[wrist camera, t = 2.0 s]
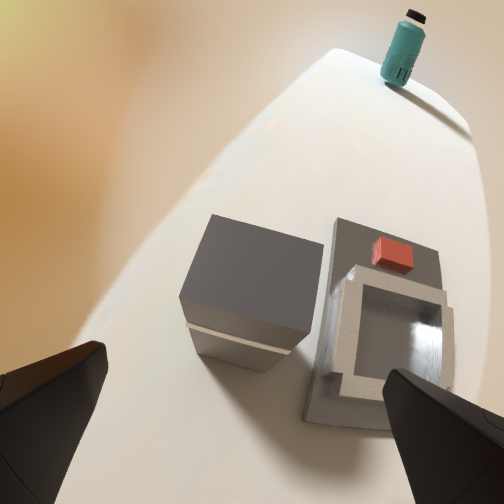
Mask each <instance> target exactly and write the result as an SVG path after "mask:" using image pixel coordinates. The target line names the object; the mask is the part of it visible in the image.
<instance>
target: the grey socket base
mask: <svg viewBox="0 0 504 504" xmlns="http://www.w3.org/2000/svg"><path fill="white" fill-rule="evenodd" d="M394 368H404V369H406V370H408V371H410V372H412V373H414V374H416V375H417V376H419V377H421V378H423V379H425V380H427V381H429V382H431V383H433V384H435V385H437V386H439V387H441V388H443V389H445V390H446V389H447V388H450V387H453V375H454V316H453V308H450V307H447V294H446V291H443V290H442V283H441V272H440V263H439V255H438V251H435V250H433V249H430V248H427V247H425V246H422V245H419V244H416V243H413V242H411V241H408V240H405V239H402V238H399V237H396V236H393V235H390V234H387V233H385V232H382V231H379V230H376V229H372V228H369V227H366V226H363V225H360V224H357V223H354V222H351V221H348V220H344V219H341V218H337V219H336V221H335V223H334V230H333V240H332V249H331V258H330V267H329V275H328V282H327V290H326V297H325V304H324V310H323V317H322V323H321V329H320V335H319V341H318V346H317V352H316V357H315V363H314V368H313V373H312V378H311V383H310V388H309V392H308V397H307V401H306V406H305V410H304V415H303V419H302V421H306V422H312V423H319V424H326V425H334V426H343V427H353V428H364V429H379V430H391V427H390V423H389V419H388V415H387V411H386V407H385V403H384V399H383V395H382V389H383V386H384V384H385V382H386V379H387V377H388V375H389V373H390V371H391V370H392V369H394Z"/></svg>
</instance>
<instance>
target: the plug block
mask: <svg viewBox="0 0 504 504" xmlns="http://www.w3.org/2000/svg"><path fill="white" fill-rule="evenodd" d="M323 248H324V245H323V244H320V243H316V242H313V241H309V240H306V239H302V238H298V237H295V236H291V235H288V234H284V233H281V232H277V231H273V230H270V229H266V228H262V227H259V226H255V225H251V224H248V223H244V222H240V221H236V220H233V219H229V218H225V217H221V216H218V215H214V214H212V216H211V218H210V221H209V223H208V225H207V228H206V230H205V232H204V235H203V237H202V240H201V242H200V244H199V247H198V249H197V252H196V254H195V257H194V259H193V262H192V264H191V266H190V269H189V272H188V274H187V277H186V279H185V282H184V284H183V287H182V289H181V292H180V295H179V299H180V302H181V305H182V309H183V312H184V315H185V318H186V321H185V323H186V326H187V327H188V328H189V331H190V334H191V337H192V340H193V343H194V346H195V349H196V352H197V354H199V355H203V356H206V357H209V358H213V359H216V360H219V361H223V362H226V363H230V364H234V365H237V366H241V367H245V368H248V369H252V370H256V371H260V372H264V373H265V372H266V371H267V370H268V369H269V368H271V367H272V366H273V365H274V364H275V363H276V362H278V361H279V360H280V359H281V358H282V357H283V356H285V355H288V354H289V353H290V352H291V351H292V349H293V348H294V347H295V346H296V345H297V344H298V343H299V342H300V341H302V340H303V339H304V338H305V337H306V336H307V335H308V334H309V333H310V331H311V325H312V320H313V314H314V308H315V302H316V296H317V290H318V283H319V276H320V270H321V263H322V255H323Z"/></svg>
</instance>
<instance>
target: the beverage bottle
mask: <svg viewBox="0 0 504 504" xmlns="http://www.w3.org/2000/svg"><path fill="white" fill-rule="evenodd" d="M406 16H408V17H410V18H412V19H414V20H416V21H418V22H420V23H422V24H425V20H426V17H425V16H424V15H422V14H421V13H419V12H417V11H414V10H411V9H409V10H408V12H407V14H406ZM424 38H425V33H424V31H423V29H421V28H419V27H417V26H416V25H413V24H412V23H409V22H407V21H401V22H399V23H398V26H397V29H396V32H395V34H394V37H393V40H392V43H391V46H390V48H389V50H388V52H387V56H386V59H385V61H384V63H383V66H382V67H381V72H380V75H381V76H382V77H383V78H384V79H385V80H387V81H389V82H391V83H393V84H395V85H397V86H401V87H403V86H405V84H406V83H407V80H408V78H409V76H410V74H411V72H412V71H411V70H412V68H413V67H414V63H415V61H416V58H417V56H418V53H419V52H420V49H421V45H422V43H423V40H424Z"/></svg>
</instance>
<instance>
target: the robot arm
mask: <svg viewBox="0 0 504 504" xmlns="http://www.w3.org/2000/svg"><path fill="white" fill-rule="evenodd" d="M107 372H108V359H107V352H106V346H105V344H104V343H102V342H98V341H89V342H87V343H84V344H82V345H79V346H77V347H74V348H72V349H69V350H66V351H64V352H61V353H59V354H56V355H53V356H51V357H48V358H45V359H43V360H40V361H38V362H35V363H32V364H30V365H27V366H24V367H22V368H19V369H16V370H14V371H11V372H8V373H6V375H5V374H2V375H0V504H54V503H55V500H56V498H57V495H58V492H59V490H60V487H61V485H62V482H63V480H64V477H65V475H66V472H67V470H68V467H69V465H70V463H71V460H72V458H73V456H74V453H75V451H76V449H77V447H78V444H79V442H80V440H81V438H82V435H83V433H84V431H85V429H86V427H87V425H88V422H89V420H90V418H91V416H92V414H93V412H94V409H95V406H96V404H97V401H98V398H99V395H100V392H101V389H102V386H103V383H104V380H105V378H106V375H107ZM382 395H383V399H384V403H385V407H386V411H387V415H388V419H389V423H390V427H391V430H392V433H393V436H394V439H395V442H396V445H397V448H398V451H399V453H400V456H401V459H402V462H403V465H404V468H405V471H406V474H407V477H408V480H409V484H410V487H411V490H412V493H413V496H414V500H415V503H416V504H504V418H503V417H501V416H498V415H496V414H494V413H492V412H490V411H488V410H486V409H483V408H481V407H479V406H477V405H475V404H473V403H471V402H469V401H467V400H465V399H463V398H461V397H459V396H457V395H455V394H453V393H451V392H449V391H447V390H445V389H443V388H441V387H439V386H437V385H435V384H433V383H431V382H429V381H427V380H425V379H423V378H421V377H419V376H417V375H416V374H414V373H412V372H410V371H408V370H406V369H404V368H394V369H392V370H391V371H390V373H389V375H388V377H387V379H386V382H385V384H384V386H383V389H382Z"/></svg>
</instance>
